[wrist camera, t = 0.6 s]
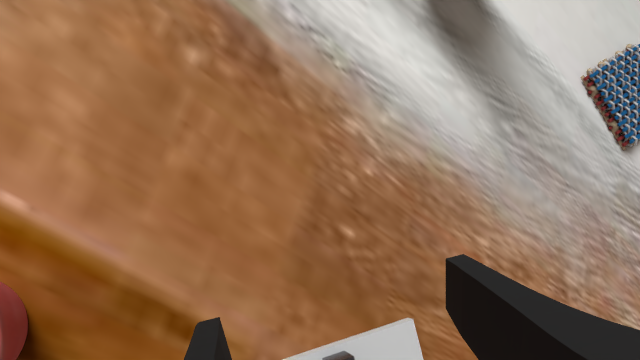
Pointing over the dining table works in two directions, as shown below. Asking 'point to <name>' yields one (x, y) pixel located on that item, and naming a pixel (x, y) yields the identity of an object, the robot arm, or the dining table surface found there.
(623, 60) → the woven mat
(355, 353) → the stand plate
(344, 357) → the crank handle
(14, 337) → the flower pot
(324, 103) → the dining table surface
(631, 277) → the dining table surface
